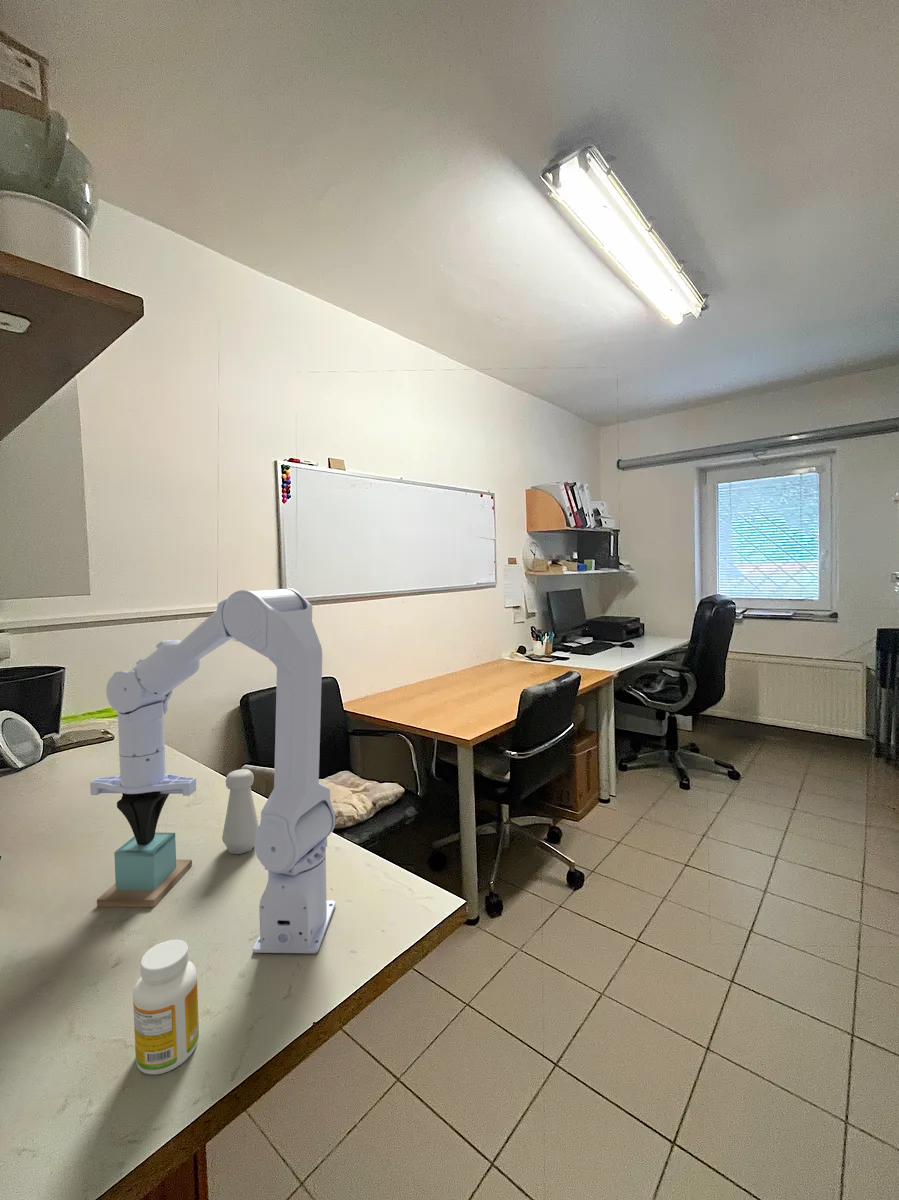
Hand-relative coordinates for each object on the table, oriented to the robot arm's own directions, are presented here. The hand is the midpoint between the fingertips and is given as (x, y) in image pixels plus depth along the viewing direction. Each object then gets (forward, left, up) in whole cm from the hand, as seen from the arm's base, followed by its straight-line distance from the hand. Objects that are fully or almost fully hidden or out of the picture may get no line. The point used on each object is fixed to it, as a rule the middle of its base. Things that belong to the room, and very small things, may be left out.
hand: (145, 841), depth 76 cm
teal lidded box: (0, 0, -6) cm, 6 cm away
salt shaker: (+10, -10, -7) cm, 16 cm away
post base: (0, 0, -7) cm, 7 cm away
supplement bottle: (-26, -18, -7) cm, 32 cm away
